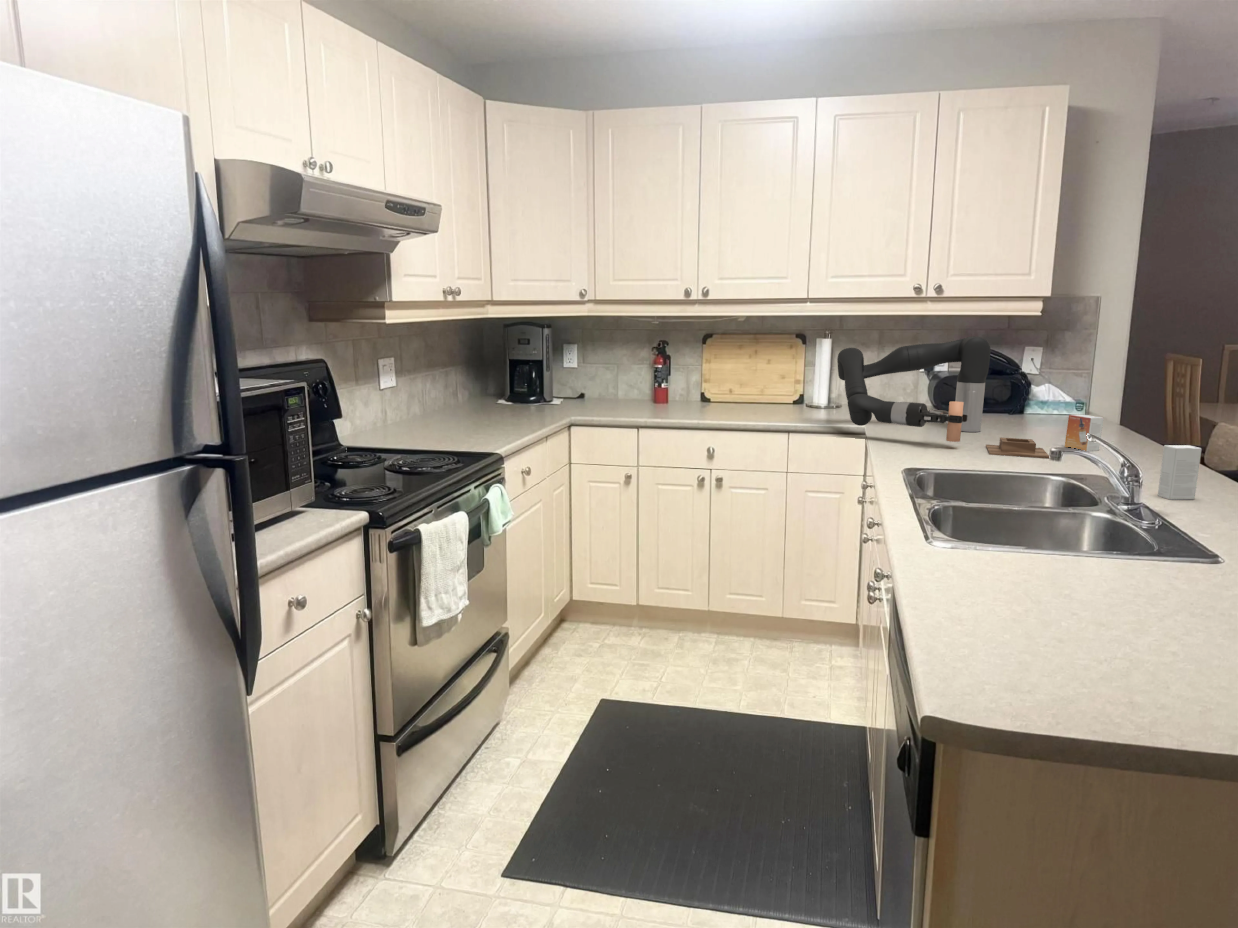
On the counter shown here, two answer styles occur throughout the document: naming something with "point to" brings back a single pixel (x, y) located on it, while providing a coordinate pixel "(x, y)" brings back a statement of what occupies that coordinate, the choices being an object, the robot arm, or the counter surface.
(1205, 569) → the counter surface
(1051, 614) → the counter surface
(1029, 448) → the socket block
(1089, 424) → the small box
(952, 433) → the pin
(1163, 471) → the skincare box
